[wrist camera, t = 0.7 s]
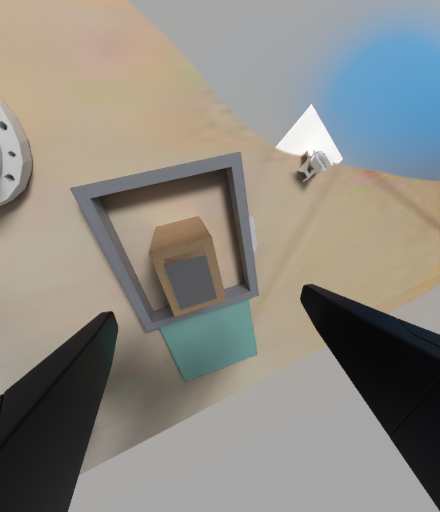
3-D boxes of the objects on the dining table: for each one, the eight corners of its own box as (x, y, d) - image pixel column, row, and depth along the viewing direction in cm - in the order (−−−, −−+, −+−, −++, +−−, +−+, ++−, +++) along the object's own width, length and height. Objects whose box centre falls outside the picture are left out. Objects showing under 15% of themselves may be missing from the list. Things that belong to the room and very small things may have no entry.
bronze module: (173, 275, 22) (175, 322, 15) (156, 226, 19) (147, 256, 12) (210, 264, 22) (228, 304, 15) (198, 216, 19) (213, 238, 13)
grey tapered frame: (148, 320, 23) (146, 332, 21) (81, 186, 16) (69, 188, 14) (256, 285, 25) (263, 294, 23) (239, 152, 18) (247, 150, 16)
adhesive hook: (318, 165, 21) (341, 164, 18) (301, 184, 21) (321, 185, 18) (304, 143, 20) (326, 138, 17) (286, 164, 20) (305, 162, 17)
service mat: (184, 377, 29) (185, 381, 28) (159, 323, 24) (158, 326, 23) (255, 351, 31) (257, 354, 30) (246, 294, 25) (248, 297, 25)
